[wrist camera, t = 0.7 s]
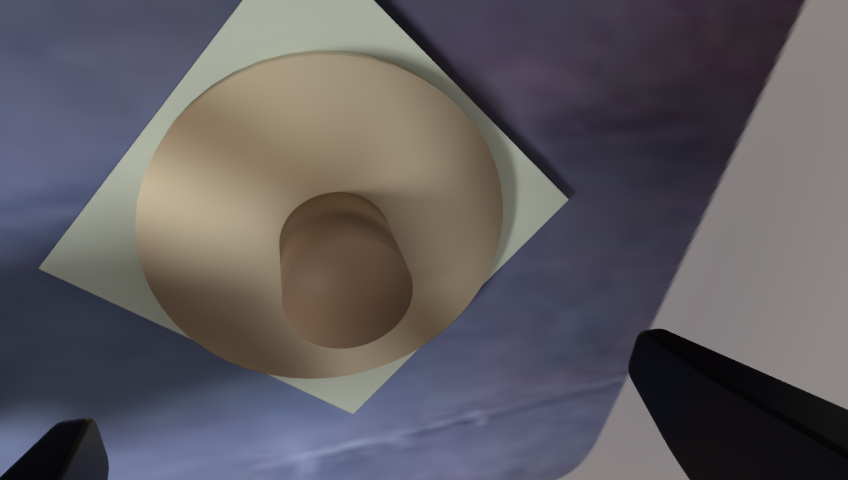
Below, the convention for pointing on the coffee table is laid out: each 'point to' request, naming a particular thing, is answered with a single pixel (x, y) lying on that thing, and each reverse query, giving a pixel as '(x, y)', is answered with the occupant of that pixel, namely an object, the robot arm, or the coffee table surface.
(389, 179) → the oak lid
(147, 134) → the sage mat
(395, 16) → the coffee table surface
